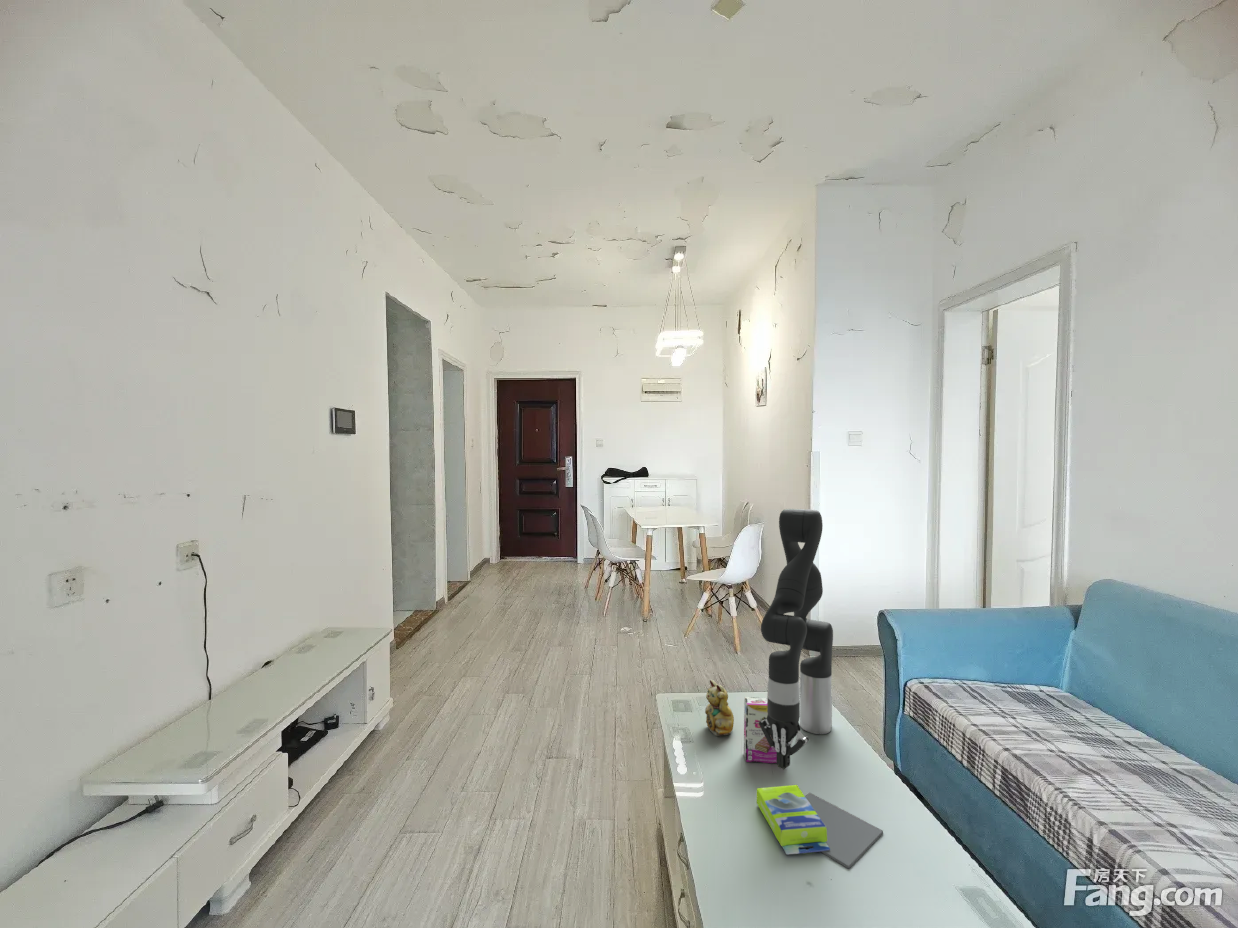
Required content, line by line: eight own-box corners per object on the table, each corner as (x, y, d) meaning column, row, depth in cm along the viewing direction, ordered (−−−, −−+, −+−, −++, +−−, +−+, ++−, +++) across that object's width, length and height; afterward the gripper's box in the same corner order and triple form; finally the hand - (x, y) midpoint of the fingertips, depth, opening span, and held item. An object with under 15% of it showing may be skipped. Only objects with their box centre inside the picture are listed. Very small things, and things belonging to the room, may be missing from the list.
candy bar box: (745, 763, 149) (745, 704, 149) (743, 753, 154) (743, 696, 154) (787, 765, 148) (787, 706, 147) (783, 755, 153) (783, 697, 152)
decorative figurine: (700, 726, 169) (700, 678, 169) (722, 720, 173) (722, 673, 172) (718, 740, 160) (718, 690, 160) (741, 734, 164) (741, 685, 163)
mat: (809, 794, 135) (809, 792, 135) (883, 833, 121) (883, 830, 121) (772, 823, 125) (772, 820, 125) (848, 868, 111) (848, 865, 111)
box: (796, 783, 132) (832, 831, 115) (797, 799, 132) (832, 850, 115) (755, 786, 131) (784, 836, 114) (755, 803, 131) (784, 856, 114)
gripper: (816, 701, 129) (816, 773, 129) (769, 683, 139) (768, 750, 139) (799, 711, 124) (799, 785, 124) (751, 691, 134) (751, 760, 134)
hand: (783, 766), depth 132 cm, fingers closed
